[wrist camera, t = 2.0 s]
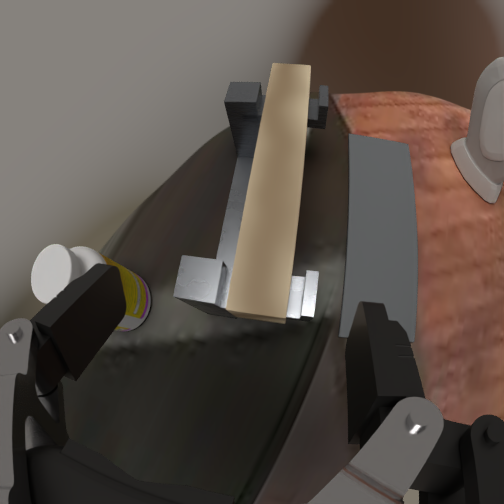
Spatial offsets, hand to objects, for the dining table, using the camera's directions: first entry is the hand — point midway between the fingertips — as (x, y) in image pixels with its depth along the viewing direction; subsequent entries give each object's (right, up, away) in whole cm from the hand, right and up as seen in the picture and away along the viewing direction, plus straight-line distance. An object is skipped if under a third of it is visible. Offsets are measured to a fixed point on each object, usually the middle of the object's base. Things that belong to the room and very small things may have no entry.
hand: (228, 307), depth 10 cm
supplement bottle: (-13, -4, +22) cm, 26 cm away
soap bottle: (+32, +13, +22) cm, 41 cm away
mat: (+15, +4, +21) cm, 26 cm away
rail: (+3, +7, +15) cm, 17 cm away
